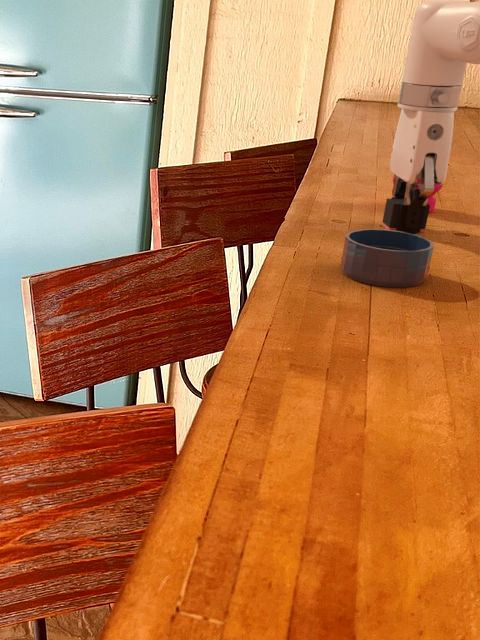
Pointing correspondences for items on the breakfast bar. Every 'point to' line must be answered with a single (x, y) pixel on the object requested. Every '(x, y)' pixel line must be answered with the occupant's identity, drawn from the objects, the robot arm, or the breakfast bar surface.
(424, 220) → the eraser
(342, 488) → the breakfast bar surface
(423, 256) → the bowl
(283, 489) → the breakfast bar surface
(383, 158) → the breakfast bar surface
